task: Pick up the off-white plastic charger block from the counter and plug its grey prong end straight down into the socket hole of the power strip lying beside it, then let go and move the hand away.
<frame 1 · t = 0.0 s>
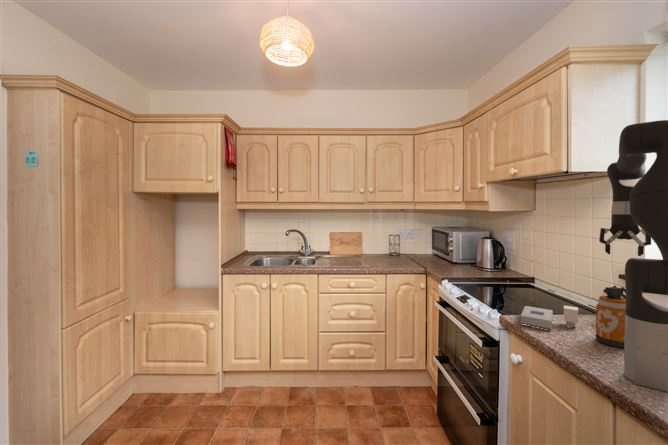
hand: (623, 255, 115), 29 cm above the countertop, tool pointing down, fingers open, 8 cm apart
canister: (614, 343, 104), on the countertop
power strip: (536, 322, 124), on the countertop
charger: (570, 326, 119), on the countertop
beverage can: (613, 325, 121), on the countertop
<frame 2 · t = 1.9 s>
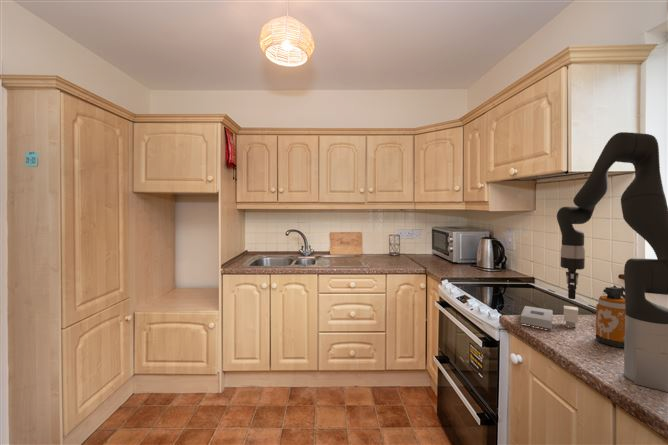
hand: (571, 296, 119), 12 cm above the countertop, tool pointing down, fingers open, 8 cm apart
nothing on the countertop moved.
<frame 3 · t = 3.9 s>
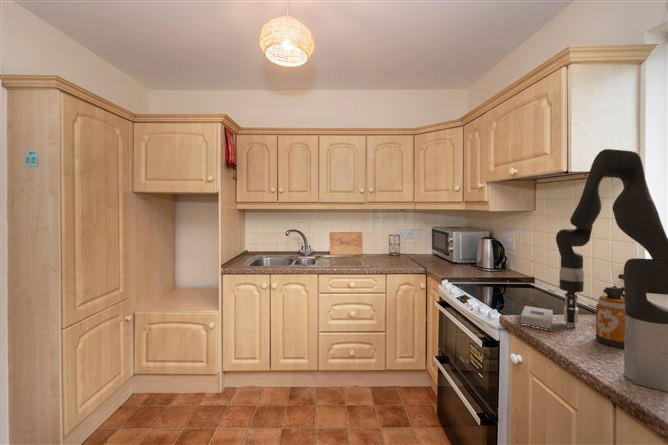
hand: (570, 320, 119), 2 cm above the countertop, tool pointing down, fingers closed on charger, 4 cm apart
charger: (570, 326, 119), on the countertop, touching gripper
everything else where it was.
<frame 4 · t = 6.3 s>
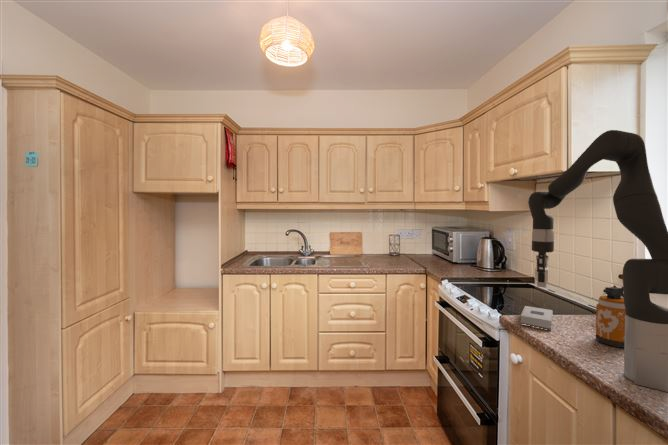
hand: (541, 280, 123), 18 cm above the countertop, tool pointing down, fingers closed on charger, 4 cm apart
charger: (541, 286, 123), point 15 cm above the countertop, touching gripper
everything else where it was.
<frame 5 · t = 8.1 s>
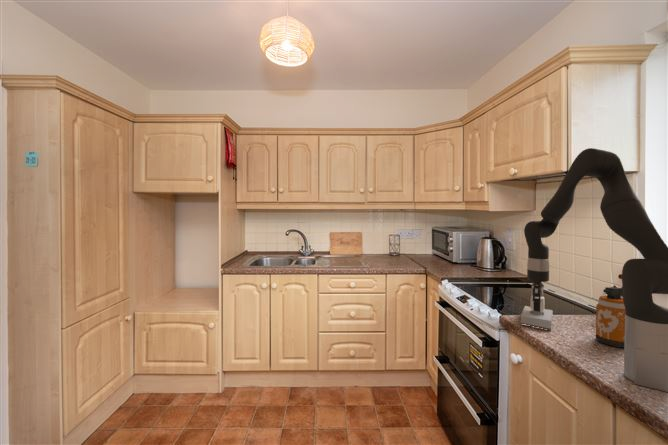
hand: (537, 309, 124), 5 cm above the countertop, tool pointing down, fingers closed on charger, 4 cm apart
charger: (537, 314, 124), point 3 cm above the countertop, touching gripper
everything else where it was.
when the fingers open (4 cm above the countertop, at t = 9.2 s): charger stays where it is, resting on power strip.
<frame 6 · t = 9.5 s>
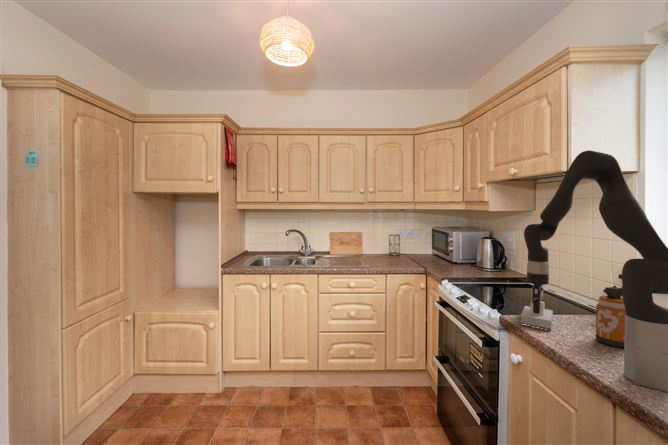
hand: (537, 310, 124), 5 cm above the countertop, tool pointing down, fingers open, 7 cm apart
charger: (536, 319, 123), point 1 cm above the countertop, tilted 8°, touching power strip
everything else where it was.
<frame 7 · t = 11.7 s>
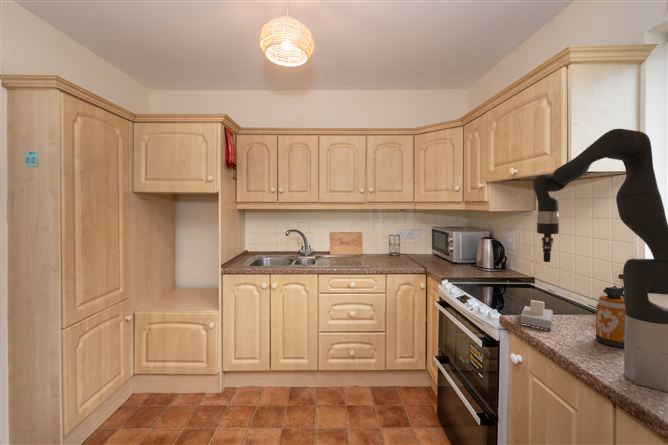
hand: (547, 260, 125), 26 cm above the countertop, tool pointing down, fingers open, 8 cm apart
nothing on the countertop moved.
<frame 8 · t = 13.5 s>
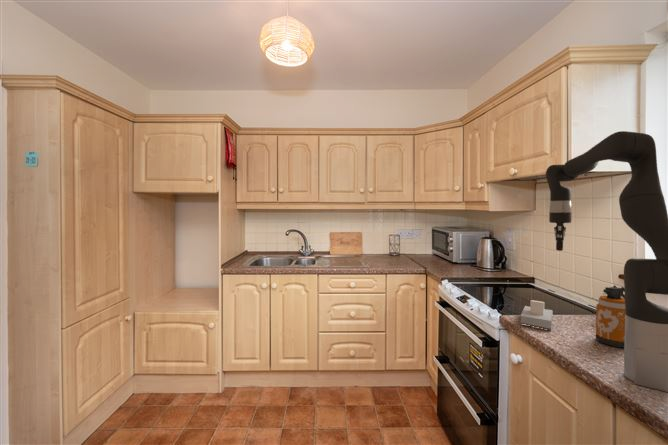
hand: (559, 249, 126), 30 cm above the countertop, tool pointing down, fingers open, 8 cm apart
nothing on the countertop moved.
at the end: charger 0.4 cm off-centre on the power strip, point 1.2 cm above the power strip's base; charger tilted 8°; the gripper is holding nothing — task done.
